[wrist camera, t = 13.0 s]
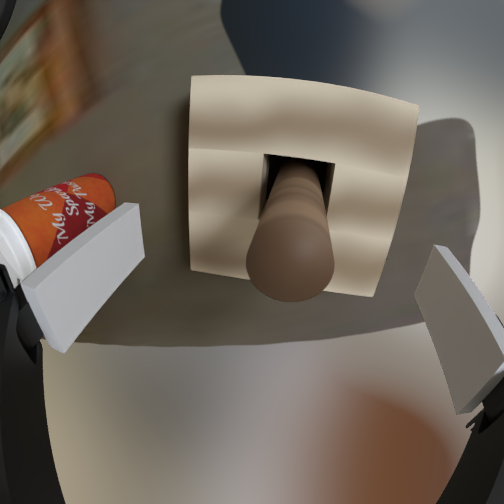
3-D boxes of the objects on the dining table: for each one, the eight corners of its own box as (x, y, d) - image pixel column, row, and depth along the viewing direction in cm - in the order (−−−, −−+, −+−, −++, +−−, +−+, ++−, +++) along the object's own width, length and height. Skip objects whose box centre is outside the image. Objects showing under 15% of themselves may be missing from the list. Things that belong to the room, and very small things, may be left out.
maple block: (212, 81, 21) (191, 76, 17) (397, 105, 19) (419, 105, 15) (207, 244, 29) (190, 269, 24) (363, 267, 27) (372, 297, 23)
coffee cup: (134, 189, 27) (28, 260, 14) (110, 242, 31) (28, 320, 18) (83, 149, 26) (-26, 195, 13) (65, 204, 30) (-22, 262, 17)
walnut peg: (280, 155, 23) (248, 219, 10) (320, 160, 23) (342, 232, 10) (276, 193, 25) (243, 295, 12) (315, 198, 25) (324, 307, 12)
